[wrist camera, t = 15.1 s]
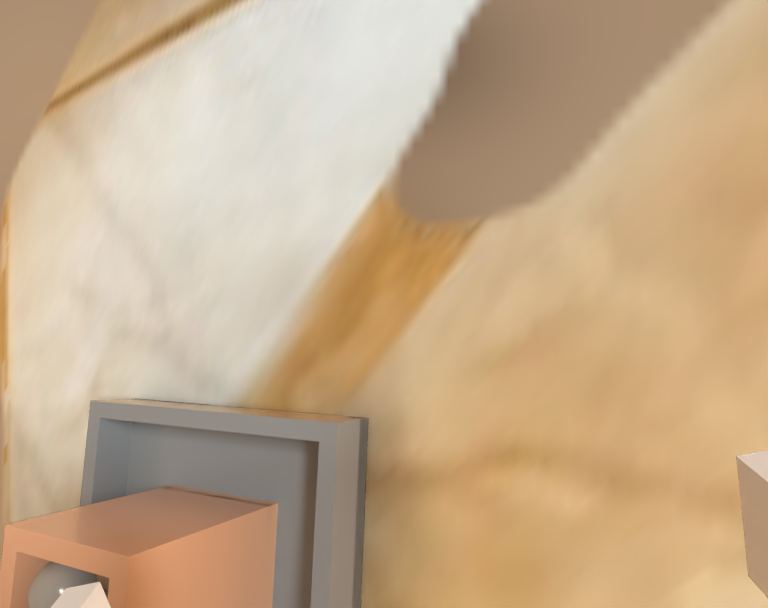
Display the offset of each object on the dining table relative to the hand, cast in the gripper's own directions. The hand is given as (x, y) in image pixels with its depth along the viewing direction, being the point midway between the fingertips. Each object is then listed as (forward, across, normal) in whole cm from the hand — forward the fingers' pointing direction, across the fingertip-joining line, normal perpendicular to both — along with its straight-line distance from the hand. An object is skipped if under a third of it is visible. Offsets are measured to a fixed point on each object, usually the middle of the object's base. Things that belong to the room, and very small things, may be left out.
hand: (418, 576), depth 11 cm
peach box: (+18, -14, -11) cm, 25 cm away
